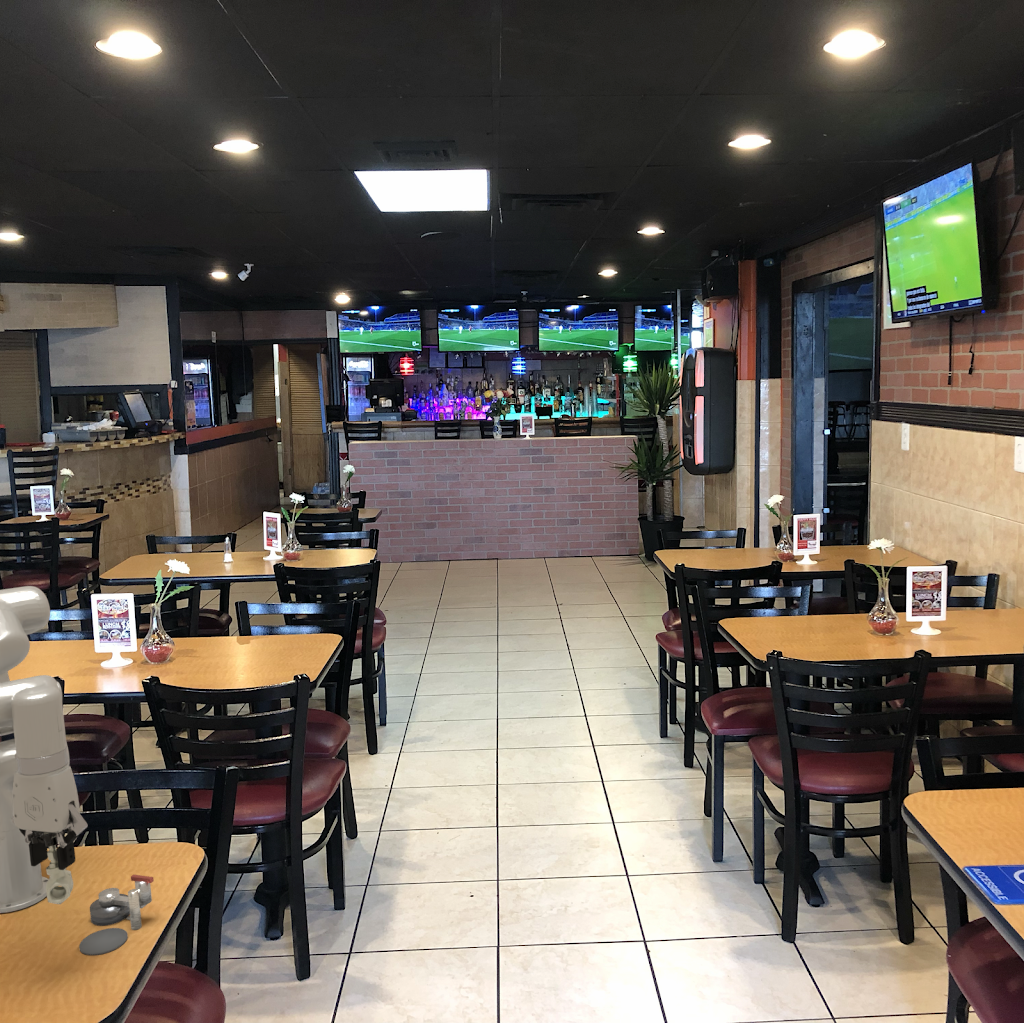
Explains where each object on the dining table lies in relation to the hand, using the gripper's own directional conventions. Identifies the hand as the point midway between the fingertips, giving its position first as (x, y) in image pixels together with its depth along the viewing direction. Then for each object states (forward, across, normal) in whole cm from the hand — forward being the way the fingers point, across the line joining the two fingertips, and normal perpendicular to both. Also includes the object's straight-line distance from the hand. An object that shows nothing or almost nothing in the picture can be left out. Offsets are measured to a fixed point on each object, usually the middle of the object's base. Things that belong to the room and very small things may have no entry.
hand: (53, 863), depth 157 cm
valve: (+6, +2, -1) cm, 6 cm away
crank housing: (+19, -1, +16) cm, 25 cm away
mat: (+19, +1, +8) cm, 21 cm away
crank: (+16, 0, +16) cm, 23 cm away
